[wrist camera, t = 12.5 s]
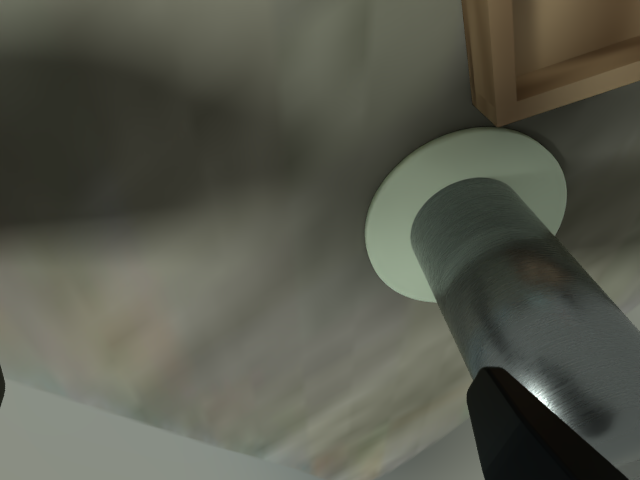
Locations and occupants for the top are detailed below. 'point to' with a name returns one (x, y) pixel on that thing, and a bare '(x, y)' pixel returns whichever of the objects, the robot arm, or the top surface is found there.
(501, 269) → the grey round cylinder
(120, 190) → the top surface
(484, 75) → the light wooden tray
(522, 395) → the robot arm
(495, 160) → the drink coaster
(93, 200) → the top surface
